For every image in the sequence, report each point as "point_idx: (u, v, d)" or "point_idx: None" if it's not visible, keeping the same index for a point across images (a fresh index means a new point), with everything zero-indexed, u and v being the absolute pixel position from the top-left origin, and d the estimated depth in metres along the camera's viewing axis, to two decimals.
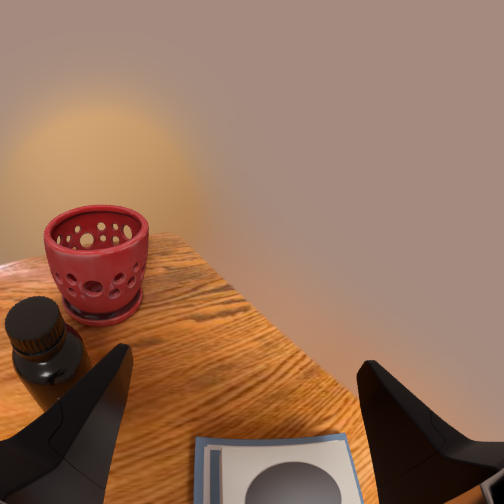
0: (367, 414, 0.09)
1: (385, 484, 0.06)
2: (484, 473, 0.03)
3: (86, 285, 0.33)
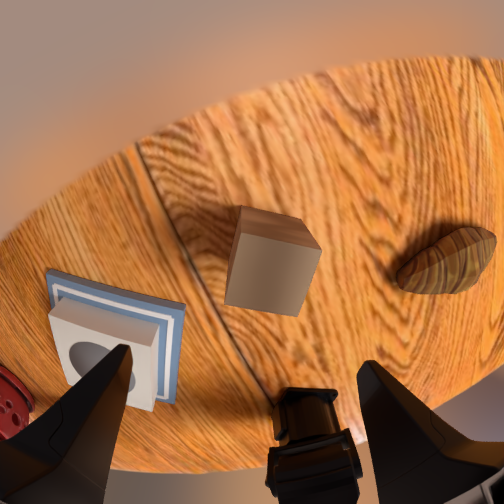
0: (367, 414, 0.09)
1: (385, 484, 0.06)
2: (484, 473, 0.03)
3: None
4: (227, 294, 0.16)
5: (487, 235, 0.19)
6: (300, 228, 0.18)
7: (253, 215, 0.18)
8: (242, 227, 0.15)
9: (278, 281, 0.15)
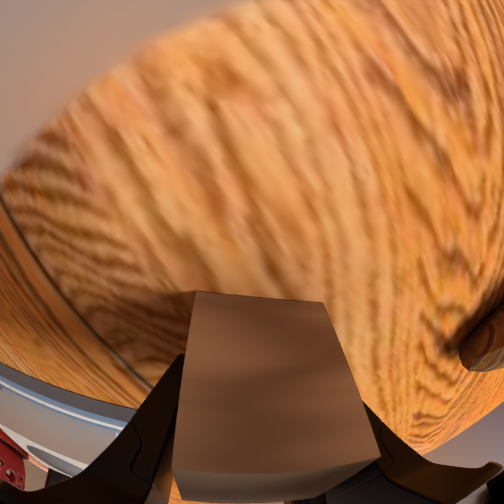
0: None
1: (333, 498, 0.06)
2: None
3: None
4: (183, 496, 0.06)
5: None
6: (327, 356, 0.07)
7: (217, 338, 0.07)
8: (178, 432, 0.05)
9: (277, 492, 0.05)
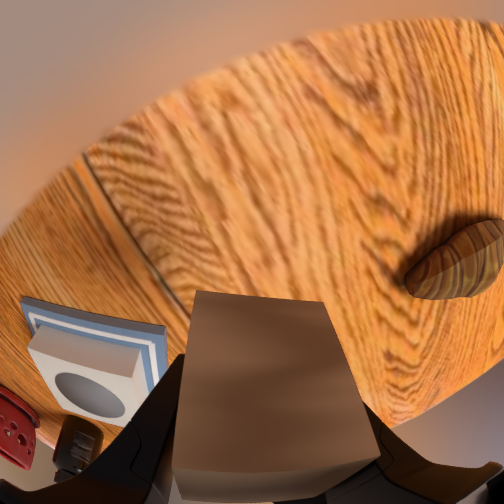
0: None
1: (333, 498, 0.06)
2: None
3: None
4: (183, 496, 0.06)
5: None
6: (327, 355, 0.07)
7: (217, 337, 0.07)
8: (178, 431, 0.05)
9: (277, 490, 0.05)
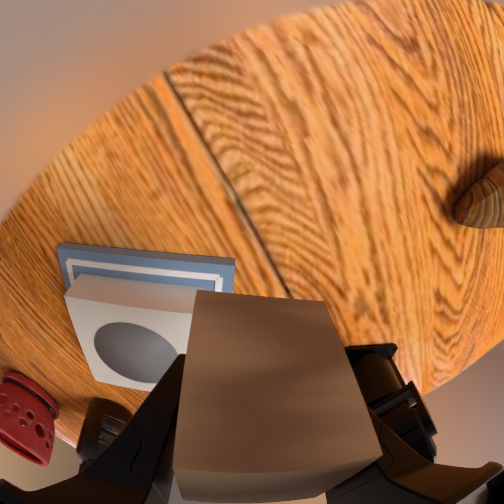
0: None
1: (333, 498, 0.06)
2: None
3: None
4: (183, 496, 0.06)
5: None
6: (328, 355, 0.07)
7: (218, 336, 0.07)
8: (179, 431, 0.05)
9: (279, 491, 0.05)
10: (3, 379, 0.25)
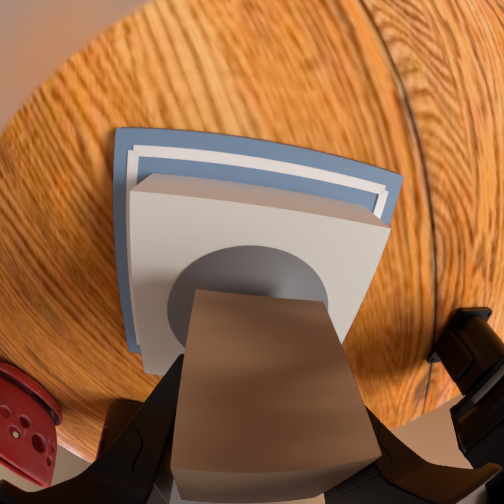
0: None
1: (332, 498, 0.06)
2: None
3: None
4: (182, 496, 0.05)
5: None
6: (327, 355, 0.07)
7: (217, 336, 0.07)
8: (177, 431, 0.05)
9: (277, 491, 0.05)
10: None
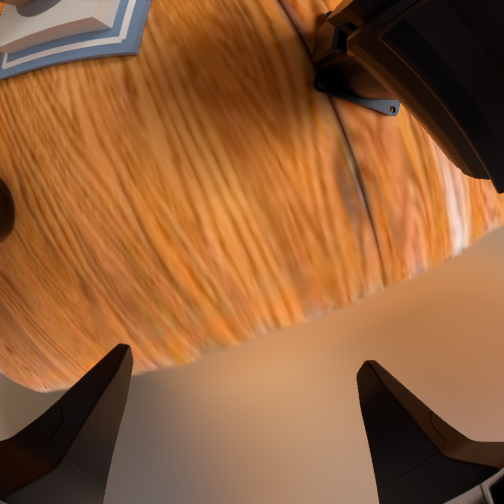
0: (367, 414, 0.09)
1: (385, 484, 0.06)
2: (484, 473, 0.03)
3: None
4: None
5: None
6: None
7: None
8: None
9: None
10: None
